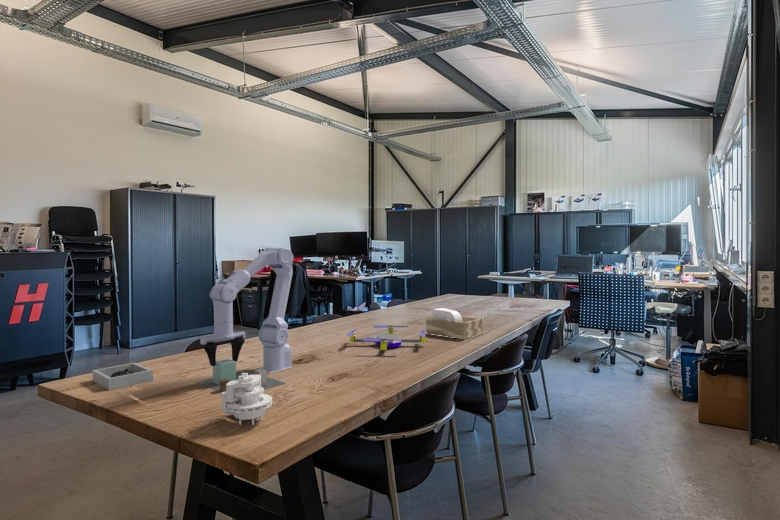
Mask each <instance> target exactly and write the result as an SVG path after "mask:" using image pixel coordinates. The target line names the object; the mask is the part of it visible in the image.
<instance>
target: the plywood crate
mask: <svg viewBox="0 0 780 520" xmlns="http://www.w3.org/2000/svg"><path fill="white" fill-rule="evenodd" d="M461 317H462V320H463V323H461V322H453V321H444V320H436V319H432V317H428V318H426V319H425V334H426V333H428V334H435V335H442V336H448V337H455V338H462V339H466V338H469V337H472V336H475V335H478V334H481V333H482V334H483V318H480V317H479V318H477V317H471V316H470V317H469V316H463V315H461Z"/></svg>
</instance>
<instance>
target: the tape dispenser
mask: <svg viewBox="0 0 780 520" xmlns="http://www.w3.org/2000/svg"><path fill="white" fill-rule="evenodd" d="M461 316H462V315H461V313H460V312H459V311H457V310H454V309H450V308H445V307H439V308H438V307H437V308H432V316H431V318H432V319H436V320H444V321H453V322H461V323H463V320H462V317H463V316H462V317H461Z"/></svg>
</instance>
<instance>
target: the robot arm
mask: <svg viewBox="0 0 780 520" xmlns="http://www.w3.org/2000/svg"><path fill="white" fill-rule="evenodd" d="M293 261H294V254H293V253H292V251H291V249H290V248H289V247H286V246H284V247H270V246H269V247H266V248H265V249H264V250H262V251H260V252H259V255H258V256H257V257H256V258H255V259H253V260H252V261H251V262H249V264H248V265H247V266H246V267H245V268H244V269H240V268H239V269H234V270H233V271H232V274H230V275H229V276H228V277H227V278H224V279H222V281H221V283H218V284H215V285H214V286H213V287H212V289H211V290H210V292H209V297H210V299H211V300H212V305H213V334H211V335H209V336H205V337H200V341H199V342H200V345H201V346H202V347H203V349H204V351H205V352H206V356H207V359H208V362H209V365H210V366H211V367H213V366H215V365H216V361H217V359H216V356H217V348H218V345H217V344H215V343H218V342H226V341H230V347H231V360H233V361H236V362H238V360H239V355H240V353H241V350H242V347H243V345H244V344H245V338H247V337H246V333H247V332H246V331H242V330H241V331H234V315H233V314H234V311H233V310H234V309H233V308H234V306H233V303H234V302H233V301H235V300H236V298H237V294H238V293H239V292H240V291H241V290H242V289H244V288H245V287H246V286H247V285H249V284H250V281H251V278H252V276H255V274H257V273H258V272H259V271H261V270H262V269H264V268H265V267H266V266H268V267H269V268H270V269H271V270H273V272H274V273H275V274H276V277H275V282H274V287H273V293H272V296H271V297H272V298H271V302H270V303H271V304H270V307H269V312H268V313H269V314H268V316H267V317H266V319H264V320H263V321H262V325H261V326H260V327H261V328H260V329H259V331H258V339H259V340H258V341H260V342H261V345H262V350H263V351H262V356H263V357H262V358H263V362H262V363H263V367H260V368H258V369H265V370H267V372H268V373H274V372H278V371H279V372H280V371H282V370H283V371H284V370H286V369H290V368H293V366H292V350H291V346H290V344H289V343H287V341H288V339H289V333H288V331H289V330H288V327H289V324H288V322H287V321H285V314H286V310H287V304H288V299H289V295H290V289H291V284H292V278H293V275H294V274H293V270H294V269H293Z"/></svg>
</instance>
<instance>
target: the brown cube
mask: <svg viewBox="0 0 780 520" xmlns="http://www.w3.org/2000/svg"><path fill="white" fill-rule="evenodd" d="M229 381H232V380H230V379H223V380H219V384H220V391H223V392H225V391H226V384H227V383H228V382H229Z"/></svg>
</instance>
